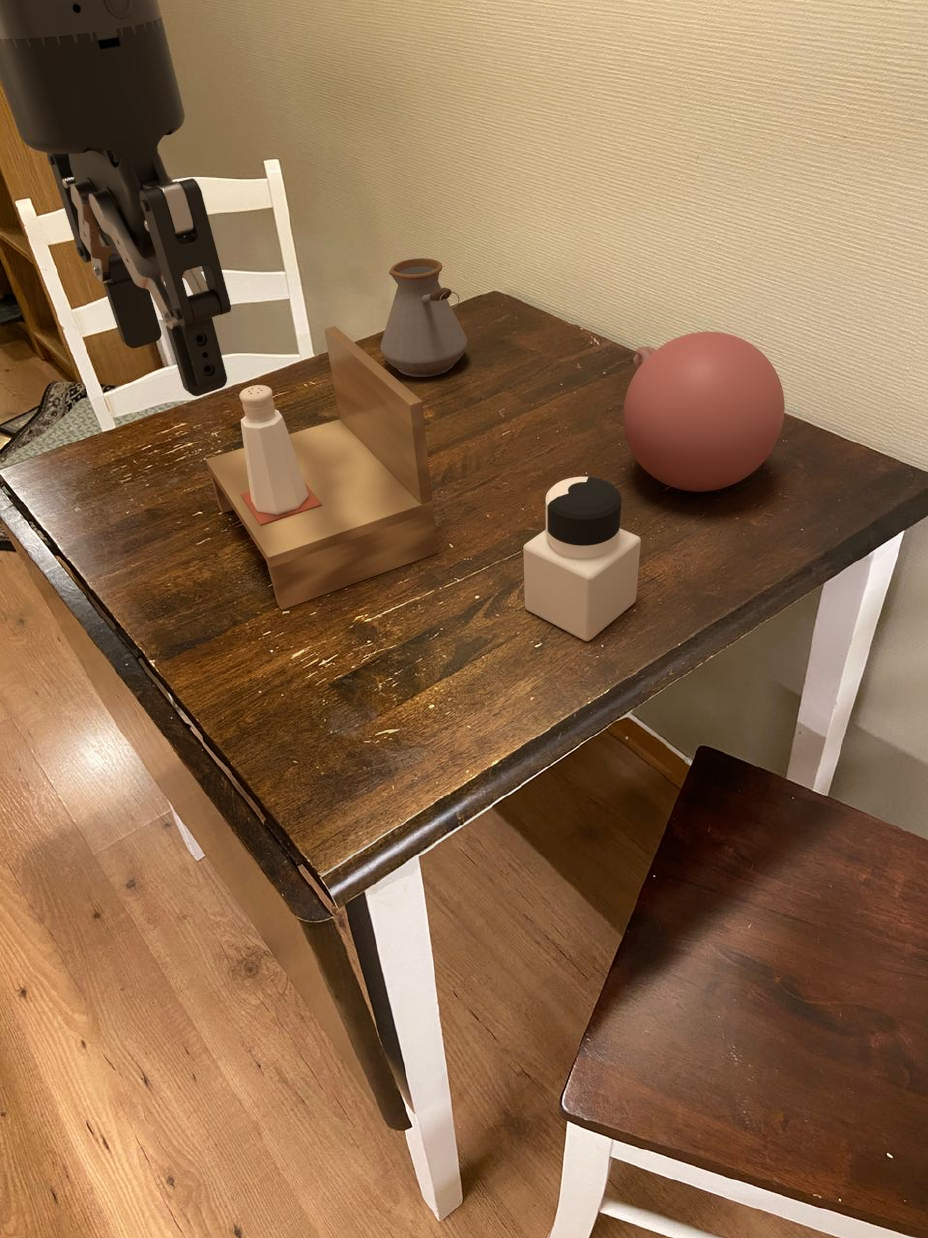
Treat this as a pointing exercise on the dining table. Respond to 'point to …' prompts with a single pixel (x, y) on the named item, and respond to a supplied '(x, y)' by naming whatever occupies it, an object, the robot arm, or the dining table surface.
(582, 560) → the medicine bottle
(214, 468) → the shelf
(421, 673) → the dining table surface
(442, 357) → the coffee pot
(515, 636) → the dining table surface
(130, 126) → the robot arm
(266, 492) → the pepper shaker
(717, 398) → the balloon
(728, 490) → the dining table surface
